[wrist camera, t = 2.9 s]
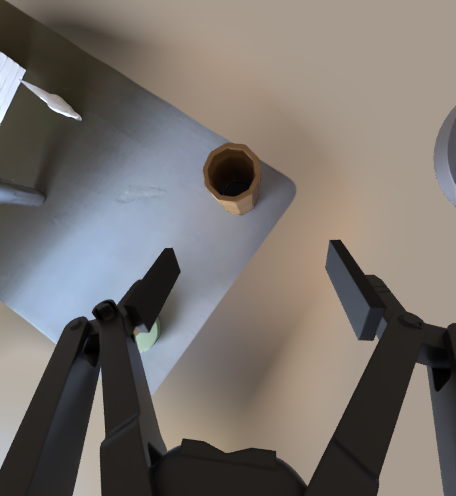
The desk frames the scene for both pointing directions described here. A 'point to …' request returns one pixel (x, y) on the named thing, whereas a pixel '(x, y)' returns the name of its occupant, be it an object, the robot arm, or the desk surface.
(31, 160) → the desk surface
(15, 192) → the milkshake
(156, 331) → the holder
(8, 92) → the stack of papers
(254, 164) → the tube
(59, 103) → the white tapered spindle
